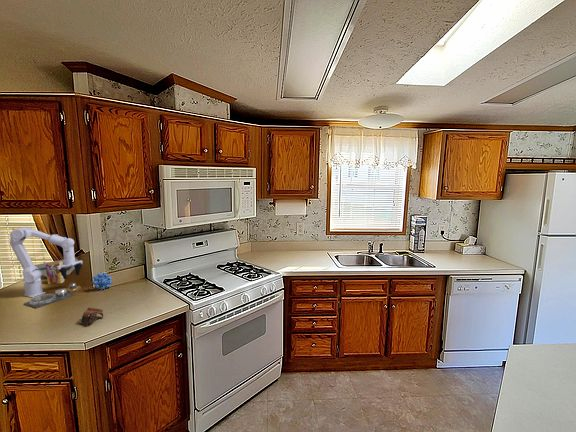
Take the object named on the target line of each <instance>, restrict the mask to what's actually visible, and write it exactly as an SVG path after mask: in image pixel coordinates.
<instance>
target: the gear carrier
mask: <svg viewBox="0 0 576 432" xmlns="http://www.w3.org/2000/svg"><path fill="white" fill-rule="evenodd" d="M73 296H75V295H74V293H73V292H67V290H66V288H65V287H63V288H58V289H56V290H55V292H54V293H51V294H50V293H49V294H46V293H45V294H41V295H38V296H35V297H31V299H29V301H26V302H24V303H23V305H24V306H28V307H31V308H35V309H39V308H42V307H45V306H47V305H51V304H54V303H56V302H59V301H63V300H65V299H68V298H71V297H73Z"/></svg>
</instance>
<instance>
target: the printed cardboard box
mask: <svg viewBox="0 0 576 432" xmlns="http://www.w3.org/2000/svg"><path fill="white" fill-rule="evenodd" d="M61 261H62V262H63V264H65V263H64V259H60V260H54V261H53V260H52V262H61ZM75 261H79V260H78V258H76V257H75ZM46 263H47V262H43V263H38V264H34V265H35V266H37V267H38V269H39V270H41V271H42V276H44V277H46V278H47V272H46ZM65 269H67V271H66V275H71V273H72V272H73V271H74V270H75V267H74V266H70V267H66V268H65Z"/></svg>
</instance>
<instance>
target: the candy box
mask: <svg viewBox="0 0 576 432" xmlns="http://www.w3.org/2000/svg"><path fill="white" fill-rule="evenodd" d="M45 263H46V273H47V277H46V279H47V284H48V285H57V284H63V283H64V282H65V279H64V278H63V276H62V274H61V272H60V271H59V270H58V269H57V266H60V265H63V262H62V261H61V262H53V261H48V262H45Z"/></svg>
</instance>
